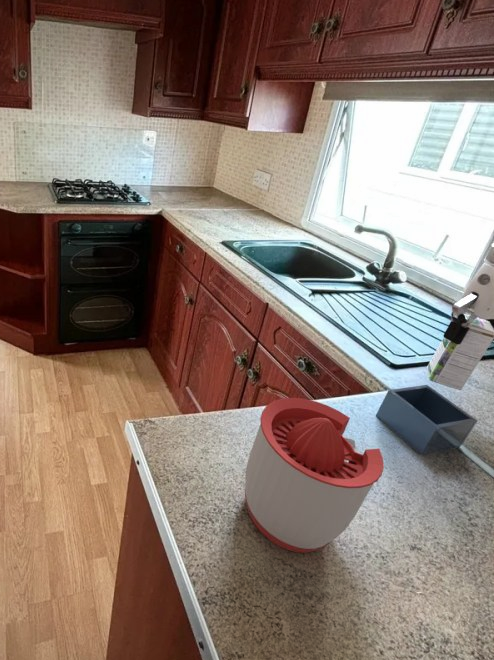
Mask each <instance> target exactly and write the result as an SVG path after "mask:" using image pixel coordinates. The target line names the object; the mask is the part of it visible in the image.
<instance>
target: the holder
mask: <svg viewBox="0 0 494 660" xmlns="http://www.w3.org/2000/svg"><path fill="white" fill-rule="evenodd" d="M375 417H377V418H378V419H379V420H380V421H381V422H382V423H384V424H385V426H387V427H388V428H389V429H390V430H391V431H392V432H394V433H395V434H396V435H397V436H399V438H400V439H402V440H403V441H404V442H405V443H406V444H407V445H408V446H409V447H410V448H412V449H413V450H414V451H415V452H416V453H417V454H418V455H420V456H424V455H428V454H429V455H430V454H433V453H439V452H443V451H448V450H452V449H453V450H454V449H458V448H461V447H462V445H463V444H464V442H465V441H466V439H467V438H468V436H469V435H470V433H471V432H472V430H474V427H475V426H476V424H477V423H478V420H477V419H476V418H475V417H473V416H472V415H470V414H469V413H468V412H467V411H464V410H463V409H462V408H461V407H459V406H458V405H457V404H455V403H453V402H452V401H450V399H448V398H447V397H445V396H443V395H442V394H441V393H439V392H438V391H437V390H435V389H434V388H432V387H431V386H429V385H428V384H423V385H414V386H408V387H400V388H392V389H388V391H387V393H386V394H385V396H384V398H383V401H382V402H381V404H380V406H379V408H378V410H377V412H376V414H375Z"/></svg>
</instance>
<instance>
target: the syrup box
mask: <svg viewBox="0 0 494 660" xmlns="http://www.w3.org/2000/svg"><path fill="white" fill-rule="evenodd" d="M464 315H465V318H466V319H467V318H468V317H469V316H470V315H468V314H466V313H464ZM467 327H469V328H470V329H469V330H468V332H467V334H466V336H465V337H464V339H463V341H462V342H461V344H458V345H457V344H455V343H453V342H451V341H450V340H448V339H446V338H445V337H444V336H443V338H442V339H441V340H440V343H439V345H438V347H437V348H436V350H435V352H434V354H433V355H432V357H431V359H430V361H429V363H428V364H427V366H426V371H427V376H428V379H429V381H430V382H433V383H435V384H438V385H441V386H445V387H449V388H452V389H454V390H459V391H462V389H463V388H464V386H465V385H466V383H467V382H468V380H469V378H470V377H471V375H472V374H473V372H474V371H475V369H476V367H477V366H478V365H479V362H481V359H482V358H483V357H484V355H485V353H486V352H487V351H488V348H489V347H490V345H491V344H492V343H493V341H494V328H493V327H492V325H491V323H490V322H489V321H486V320H483V319H479V318H478V317H477V318H476V319H475V320H474V321H473V322H472V323H471V324H470V325H469V326H467Z"/></svg>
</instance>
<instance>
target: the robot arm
mask: <svg viewBox="0 0 494 660" xmlns="http://www.w3.org/2000/svg"><path fill="white" fill-rule="evenodd" d="M451 311H452V312H451V313H450V322H449V324H448V325H447V327H446V330H444V331H445V332H444V333H443V336H442V337H443V338H444V337H445V338H446V339H448V340H450V341H451V342H453V343H455V344H457V345H458V344H461V342H462V341H463V339H464V337H465V336H466V334H467V332H468V330H469V329H470V328H469V327H467V326H469V325H470V324H471V323H472V322H473V321H474V320H475V319H476V318H477V317H478V318H479V319H483V320H486V321H489V322H490V323H491V325H492V327H493V328H494V241H492V244H491V245H490V247H489V249H488V251H487V253H486V255H485V257H484V259H483V263H482V265H481V266H480V267H479V269H478V270H477V271H476V273H475V274H474V276H473V277H472V279H471V280H470V282H469V284H468V285H467V287H466V288H465V290H464V291H463V293H462V295H461V297H460V300H459V301H457V302H455V303H454V304H453V305H452V306H451ZM464 314H466V315H470V316H469V317H468V318H467V319H466V318H465V315H464Z"/></svg>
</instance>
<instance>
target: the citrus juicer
mask: <svg viewBox="0 0 494 660" xmlns="http://www.w3.org/2000/svg"><path fill="white" fill-rule="evenodd" d="M259 418H260V423H259V427H258V430H257V433H256V436H255V439H254V441H253V443H252V446H251V450H250V452H249V457H248V460H247V464H246V466H245V477H244V481H245V482H244V498H245V502H246V506H247V507H246V508H247V510H248V511H247V512H248V514H249V516H250V519H251V520H252V522H253V524H254V525H255V527H256V528H257V530H259V531H260V533H261V534H262V535H263V536H264V537H266V539H268V540H269V541H271V542H272V543H273V544H275V545H276V546H278V547H281V548H283V550H284V549H285V550H287V551H291V552H295V553H299V554H302V553H310V552H314V551H317V550H320V549H323V548H325V547H326V546H328V545H329V544H330V543H331V542H332V541H334V540H335V539H337V538H338V537H340V536H341V534H343V533H344V532H345V531H346V529H348V527H349V525H350V524H351V523H352V521H353V520H354V519H355V517H356V515H357V514H358V512H359V510H360V508H361V507H362V505H363V503H364V501H365V500H366V497H368V494H369V492H370V491H371V489H372V487H373V485H374V484H375V483H376V482H378V481H379V479H380V478H381V477H382V475H383V471H384V467H385V466H384V457H383V455H382V452H381V450H380V448H369V449H367V448H366V449H365V450H364V452H361V451H360V449H359V448H358V447H357V446H356V441H355V440H354V439H353V438H351V437H350V438H349V437H344V436H343V435H344V434H345V431H346V428H347V426H348V424H349V421H350V419H351V417H349V416H348V415H347V414H344V413H343V412H341V411H340V410H338V409H335V408H333V407H332V406H329V405H327V404H325V403H322V402H320V401H316V400H311V399H308V398H302V397H283V398H279V399H276V400H273V401H271V402H270V403H268V404H267V405H266V406H265V408H264V409H263V410H262V411H261V414H260V417H259Z"/></svg>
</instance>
